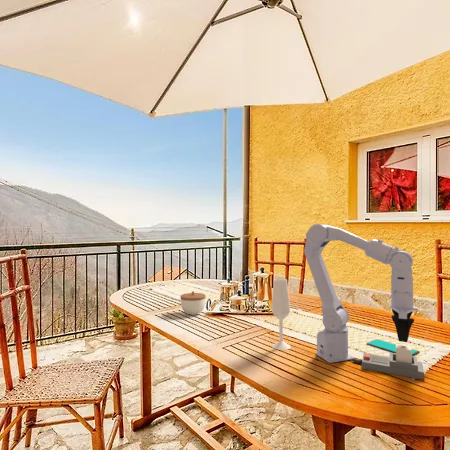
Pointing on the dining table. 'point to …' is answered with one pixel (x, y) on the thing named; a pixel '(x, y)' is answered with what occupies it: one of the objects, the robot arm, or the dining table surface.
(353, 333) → the dining table surface
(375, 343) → the smartphone
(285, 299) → the champagne flute
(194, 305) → the lidded sugar bowl
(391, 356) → the power strip
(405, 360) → the block
